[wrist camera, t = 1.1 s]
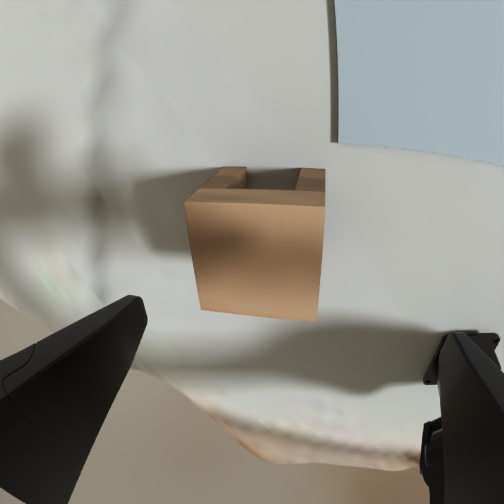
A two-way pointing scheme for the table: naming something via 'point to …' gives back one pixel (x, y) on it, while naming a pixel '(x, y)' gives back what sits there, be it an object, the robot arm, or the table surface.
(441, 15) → the mat
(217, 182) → the light brown block
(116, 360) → the robot arm
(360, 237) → the table surface
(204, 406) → the table surface
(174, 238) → the table surface
